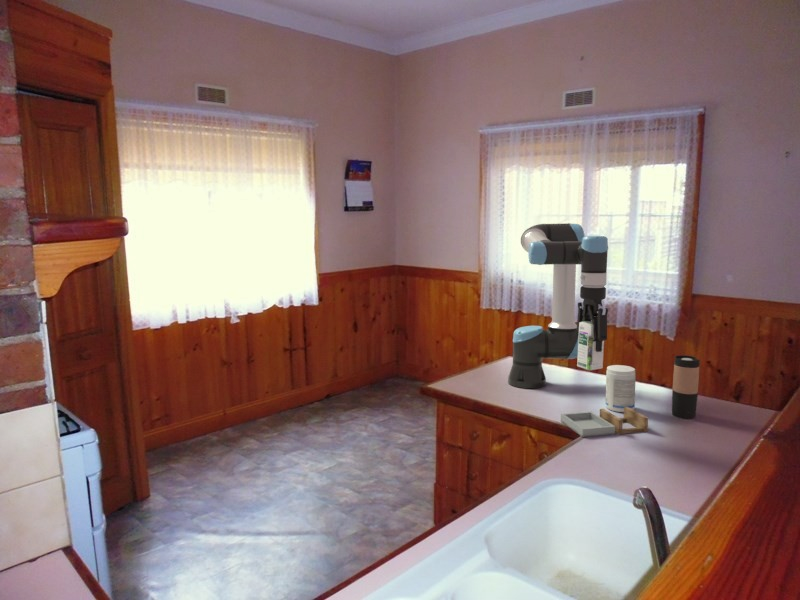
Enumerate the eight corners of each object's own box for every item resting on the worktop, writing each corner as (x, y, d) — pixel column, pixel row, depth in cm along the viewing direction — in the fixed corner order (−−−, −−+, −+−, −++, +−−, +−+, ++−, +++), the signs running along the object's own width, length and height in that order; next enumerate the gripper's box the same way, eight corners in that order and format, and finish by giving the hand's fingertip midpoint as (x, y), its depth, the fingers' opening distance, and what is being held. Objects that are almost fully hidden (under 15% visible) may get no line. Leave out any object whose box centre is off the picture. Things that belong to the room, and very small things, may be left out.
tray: (560, 421, 184) (560, 414, 184) (591, 418, 186) (591, 411, 186) (582, 437, 170) (582, 429, 170) (614, 434, 172) (615, 426, 172)
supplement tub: (640, 409, 194) (642, 368, 192) (623, 415, 189) (625, 373, 187) (615, 402, 202) (617, 363, 200) (599, 407, 197) (600, 367, 195)
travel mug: (667, 415, 188) (671, 358, 185) (675, 410, 194) (678, 354, 191) (692, 421, 183) (696, 362, 180) (699, 415, 188) (703, 357, 186)
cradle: (599, 422, 183) (599, 408, 182) (626, 419, 185) (627, 406, 184) (618, 434, 172) (619, 420, 172) (647, 431, 174) (648, 418, 173)
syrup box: (576, 366, 177) (577, 321, 175) (590, 364, 179) (592, 320, 177) (589, 370, 172) (590, 324, 170) (603, 368, 174) (605, 323, 172)
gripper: (566, 283, 180) (564, 352, 184) (599, 290, 162) (596, 367, 165) (587, 282, 182) (585, 350, 185) (622, 289, 163) (618, 365, 166)
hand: (590, 358), depth 175 cm, fingers closed on syrup box, 6 cm apart
